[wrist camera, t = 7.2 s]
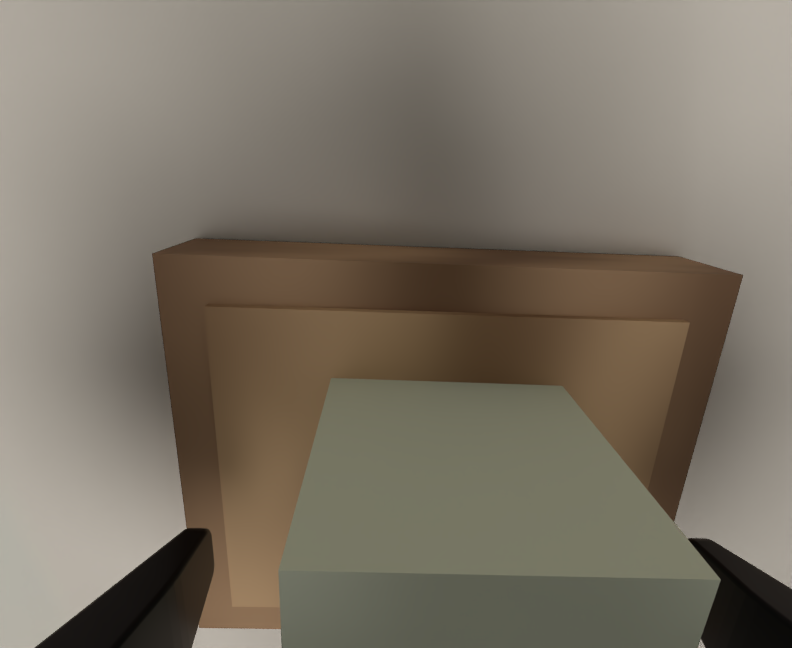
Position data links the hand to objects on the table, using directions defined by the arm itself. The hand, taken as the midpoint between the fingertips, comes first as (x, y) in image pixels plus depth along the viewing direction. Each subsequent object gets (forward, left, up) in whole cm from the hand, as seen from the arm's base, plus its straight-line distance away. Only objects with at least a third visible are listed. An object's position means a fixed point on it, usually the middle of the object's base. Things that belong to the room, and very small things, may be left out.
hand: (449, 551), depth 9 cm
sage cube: (0, 0, -2) cm, 2 cm away
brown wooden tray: (0, 0, -4) cm, 4 cm away
